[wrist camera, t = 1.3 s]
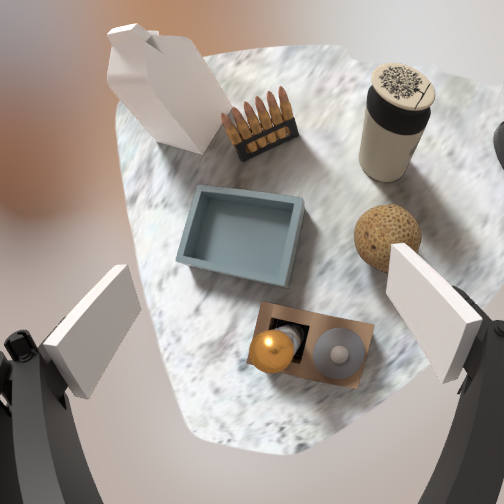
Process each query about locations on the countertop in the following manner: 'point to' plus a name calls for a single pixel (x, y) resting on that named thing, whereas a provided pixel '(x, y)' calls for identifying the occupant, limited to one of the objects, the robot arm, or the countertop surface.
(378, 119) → the travel mug
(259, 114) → the ammunition clip
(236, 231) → the tray
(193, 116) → the milk
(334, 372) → the block
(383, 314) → the countertop surface
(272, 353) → the pin
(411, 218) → the natural sponge
